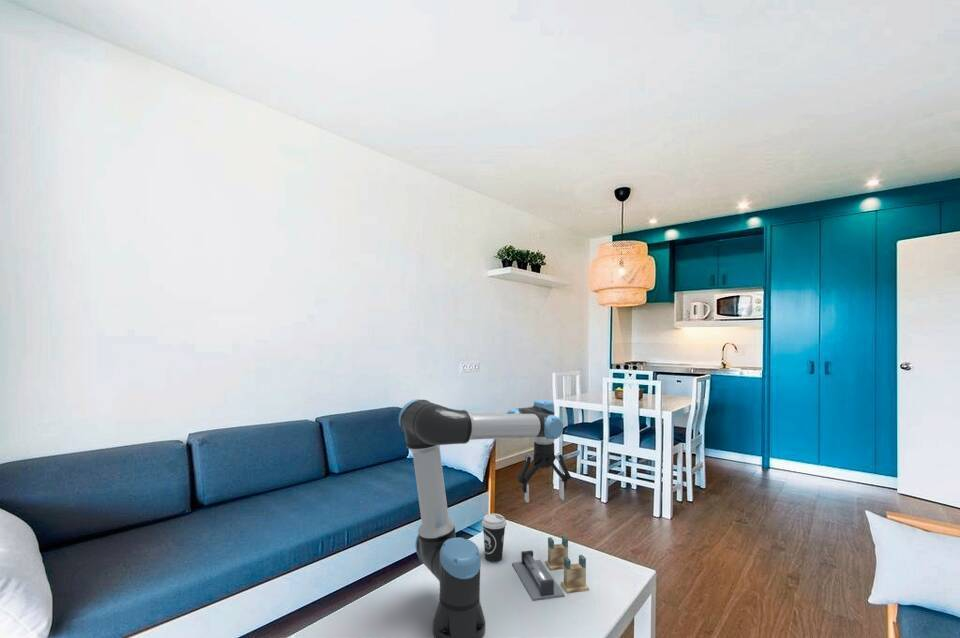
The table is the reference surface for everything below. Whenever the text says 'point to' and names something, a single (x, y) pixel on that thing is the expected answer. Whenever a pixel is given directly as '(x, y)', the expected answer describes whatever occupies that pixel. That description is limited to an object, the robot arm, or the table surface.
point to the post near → (574, 575)
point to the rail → (537, 573)
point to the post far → (557, 553)
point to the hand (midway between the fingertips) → (544, 499)
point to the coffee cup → (493, 536)
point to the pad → (532, 584)
